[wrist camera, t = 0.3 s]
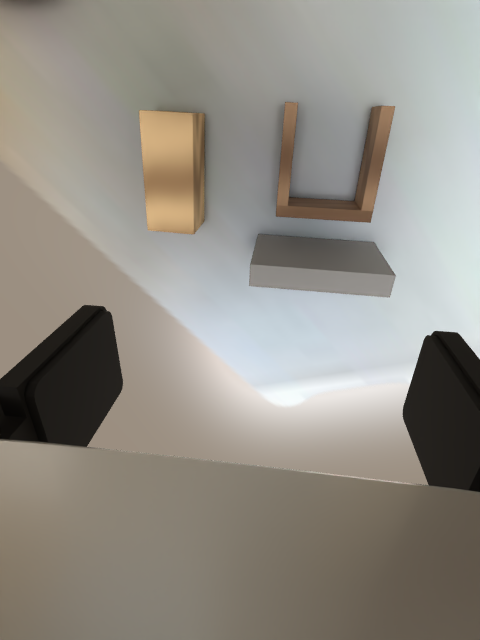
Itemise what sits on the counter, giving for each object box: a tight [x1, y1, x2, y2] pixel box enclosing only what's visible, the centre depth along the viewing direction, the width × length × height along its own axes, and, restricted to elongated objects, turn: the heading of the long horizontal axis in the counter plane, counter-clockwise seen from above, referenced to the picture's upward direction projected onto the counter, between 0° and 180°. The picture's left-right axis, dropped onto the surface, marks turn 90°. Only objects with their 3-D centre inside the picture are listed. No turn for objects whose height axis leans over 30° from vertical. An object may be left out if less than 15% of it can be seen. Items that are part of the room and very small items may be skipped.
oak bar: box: [139, 110, 205, 234], centre depth 34 cm, size 10×4×5 cm, turn 177°
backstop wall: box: [249, 234, 396, 297], centre depth 35 cm, size 2×12×9 cm, turn 88°
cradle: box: [276, 102, 395, 223], centre depth 33 cm, size 9×8×4 cm
